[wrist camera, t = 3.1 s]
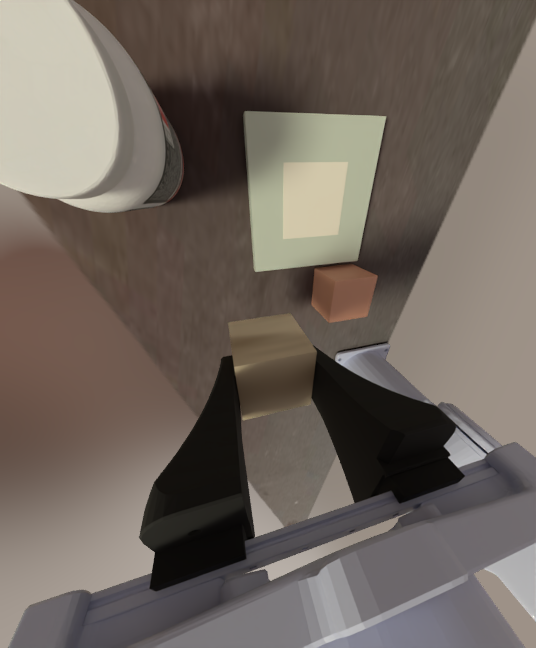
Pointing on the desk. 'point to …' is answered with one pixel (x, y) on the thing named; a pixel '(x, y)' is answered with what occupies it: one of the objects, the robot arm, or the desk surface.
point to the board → (309, 185)
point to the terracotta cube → (342, 292)
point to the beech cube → (271, 364)
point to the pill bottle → (79, 113)
